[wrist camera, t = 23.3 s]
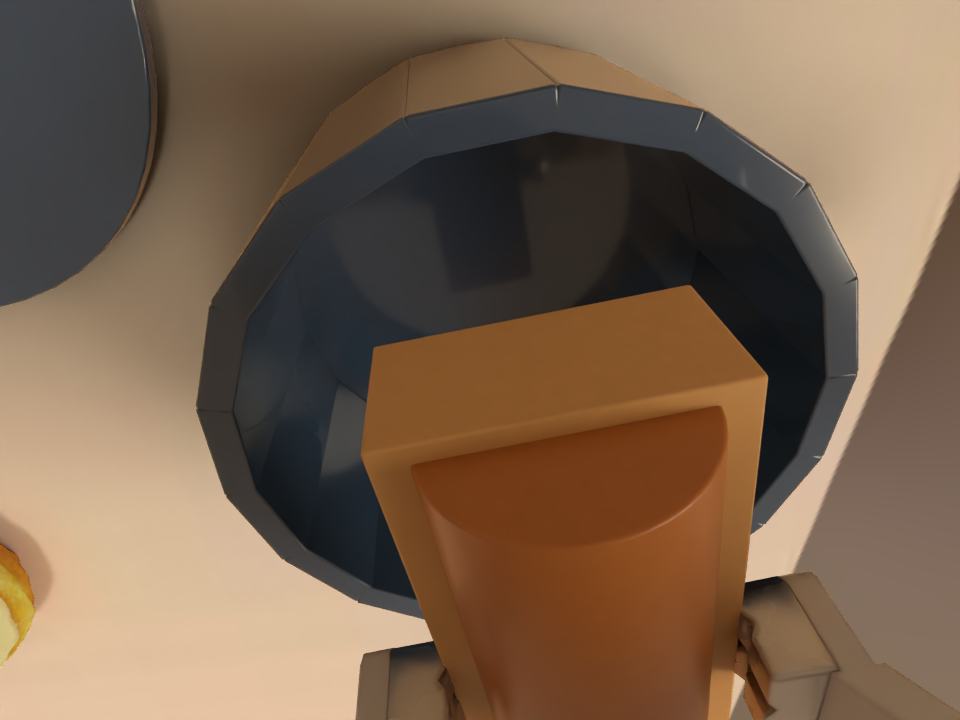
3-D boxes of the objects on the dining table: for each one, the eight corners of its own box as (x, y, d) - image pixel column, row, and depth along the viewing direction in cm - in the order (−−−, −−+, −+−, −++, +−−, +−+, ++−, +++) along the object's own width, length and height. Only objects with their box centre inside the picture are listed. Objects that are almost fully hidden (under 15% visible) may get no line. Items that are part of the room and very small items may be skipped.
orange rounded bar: (372, 345, 9) (344, 571, 6) (691, 282, 9) (857, 475, 5) (492, 708, 15) (513, 920, 12) (682, 674, 15) (758, 879, 12)
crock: (192, 101, 18) (40, 193, 10) (725, -13, 17) (939, 2, 10) (350, 475, 26) (325, 662, 19) (706, 405, 26) (815, 571, 19)
